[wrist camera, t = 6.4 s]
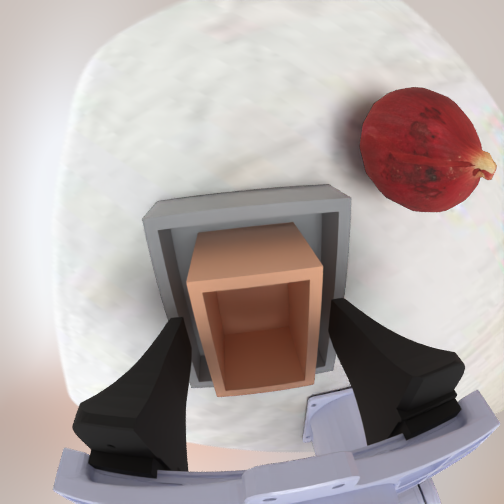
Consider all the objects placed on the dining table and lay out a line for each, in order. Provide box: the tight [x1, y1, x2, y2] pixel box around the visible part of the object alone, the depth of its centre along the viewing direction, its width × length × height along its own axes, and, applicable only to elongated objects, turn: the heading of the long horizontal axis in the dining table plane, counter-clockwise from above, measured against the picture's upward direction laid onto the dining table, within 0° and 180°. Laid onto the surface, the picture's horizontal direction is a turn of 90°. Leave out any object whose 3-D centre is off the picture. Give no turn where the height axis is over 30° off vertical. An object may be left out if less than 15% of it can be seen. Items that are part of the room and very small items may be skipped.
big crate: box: [142, 184, 351, 388], centre depth 15 cm, size 11×9×3 cm
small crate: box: [186, 222, 323, 397], centre depth 14 cm, size 7×5×5 cm
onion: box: [360, 87, 497, 212], centre depth 10 cm, size 6×6×8 cm
